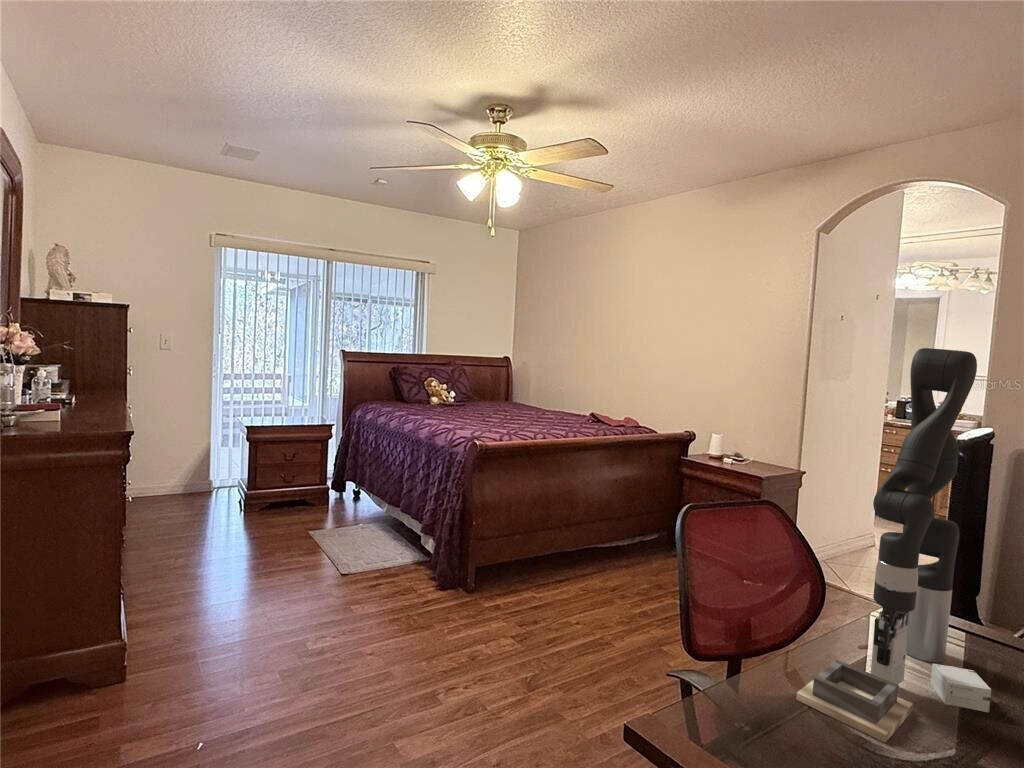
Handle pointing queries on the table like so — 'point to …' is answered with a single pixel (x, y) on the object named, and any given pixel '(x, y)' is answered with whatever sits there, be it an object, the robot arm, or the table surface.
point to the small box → (960, 687)
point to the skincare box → (892, 658)
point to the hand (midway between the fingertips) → (888, 658)
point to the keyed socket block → (857, 699)
